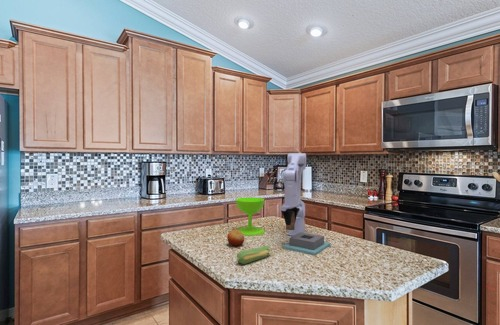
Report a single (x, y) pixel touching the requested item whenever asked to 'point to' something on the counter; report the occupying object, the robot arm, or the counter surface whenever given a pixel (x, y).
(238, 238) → the fruit
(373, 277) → the counter surface
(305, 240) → the socket board
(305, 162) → the robot arm
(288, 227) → the peg
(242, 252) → the edible corn
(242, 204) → the wineglass
